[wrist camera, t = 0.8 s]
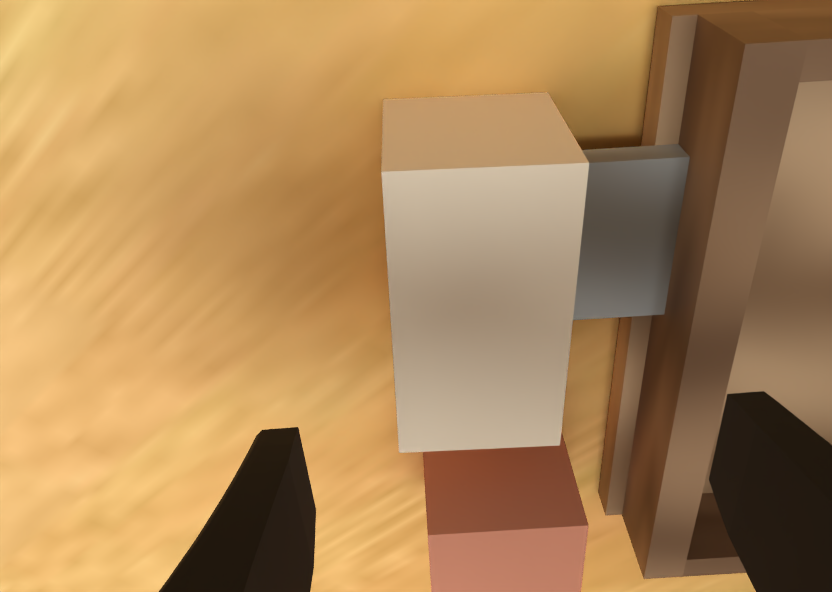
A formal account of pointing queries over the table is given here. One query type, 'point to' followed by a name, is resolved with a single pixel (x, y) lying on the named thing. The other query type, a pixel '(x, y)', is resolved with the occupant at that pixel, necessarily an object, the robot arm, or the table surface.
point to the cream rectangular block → (481, 267)
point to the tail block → (504, 520)
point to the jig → (712, 262)
